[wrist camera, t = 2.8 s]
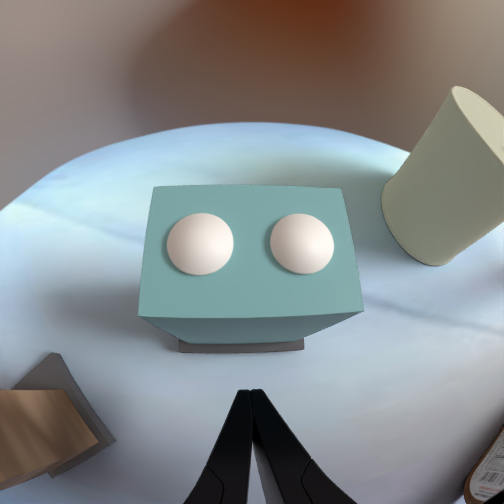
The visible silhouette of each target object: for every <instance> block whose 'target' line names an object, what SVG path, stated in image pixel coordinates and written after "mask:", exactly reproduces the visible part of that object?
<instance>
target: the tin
mask: <svg viewBox="0 0 504 504" xmlns="http://www.w3.org/2000/svg"><path fill="white" fill-rule="evenodd" d="M503 488H504V426H503V427H502V429H501V430H500V432H499V433H498V435H497V436H496V438H495V439H494V441H493V442H492V444H491V445H490V447H489V448H488V449H487V451H486V452H485V453H484V455H483V456H482V457H481V459H480V460H479V461H478V463H477V464H476V465H475V466H474V468H473V469H472V470H471V472H470V474H469V475H468V477H467V479H466V482H465V485H464V499H465V502H466V504H482V503H483V502H484V501H486V500H487V499H489V498H490V497H492V496H493V495H495V494H496V493H498V492H499V491H500V490H502V489H503Z"/></svg>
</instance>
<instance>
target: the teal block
mask: <svg viewBox="0 0 504 504" xmlns="http://www.w3.org/2000/svg"><path fill="white" fill-rule="evenodd" d="M363 311H364V308H363V300H362V293H361V286H360V279H359V273H358V267H357V261H356V256H355V250H354V245H353V240H352V235H351V230H350V225H349V220H348V216H347V211H346V207H345V202H344V198H343V194H342V190H341V189H339V188H324V187H305V186H279V185H184V186H159V187H154V188H153V193H152V199H151V205H150V211H149V217H148V223H147V230H146V237H145V245H144V253H143V261H142V271H141V281H140V293H139V307H138V316H139V317H140V318H142V319H144V320H146V321H147V322H149V323H151V324H153V325H155V326H156V327H158V328H160V329H162V330H164V331H166V332H168V333H170V334H171V335H173V336H175V337H177V338H179V339H181V340H183V341H185V342H187V343H189V344H247V343H274V342H291V341H296V340H299V339H301V338H304V337H306V336H309V335H311V334H314V333H316V332H318V331H321V330H323V329H325V328H328V327H330V326H332V325H335V324H337V323H339V322H341V321H343V320H346V319H348V318H350V317H352V316H354V315H356V314H359V313H361V312H363Z"/></svg>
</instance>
